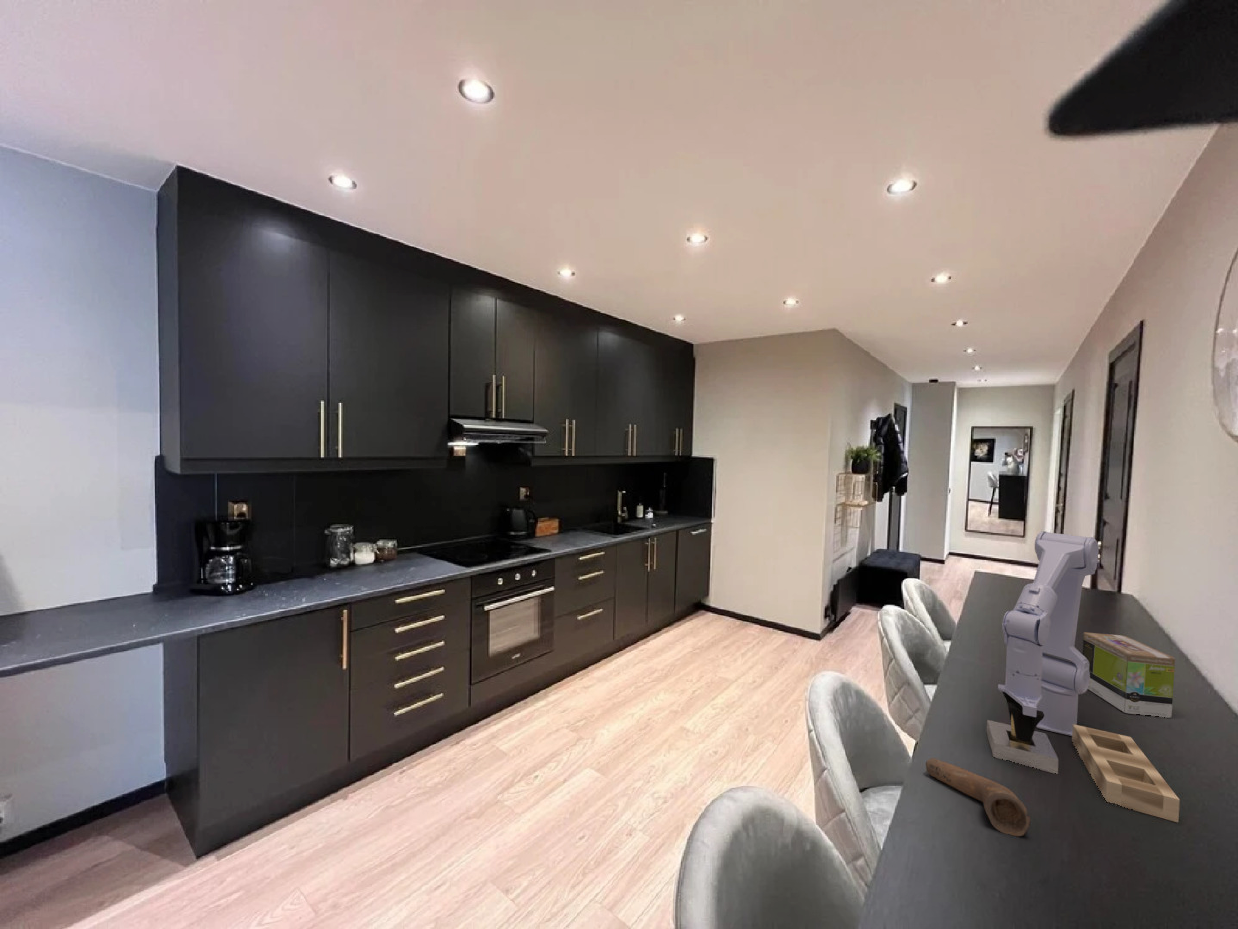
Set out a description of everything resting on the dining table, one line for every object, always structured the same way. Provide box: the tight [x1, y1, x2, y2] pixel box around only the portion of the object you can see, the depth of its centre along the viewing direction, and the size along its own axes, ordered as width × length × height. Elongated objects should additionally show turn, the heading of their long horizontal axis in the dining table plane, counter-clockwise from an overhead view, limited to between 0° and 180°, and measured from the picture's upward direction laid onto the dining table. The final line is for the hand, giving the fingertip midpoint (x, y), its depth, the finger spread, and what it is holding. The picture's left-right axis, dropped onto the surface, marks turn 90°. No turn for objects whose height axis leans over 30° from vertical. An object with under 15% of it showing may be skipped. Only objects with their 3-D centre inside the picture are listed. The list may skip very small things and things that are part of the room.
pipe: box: [925, 757, 1031, 837], centre depth 88 cm, size 6×17×10 cm
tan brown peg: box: [1010, 715, 1030, 745], centre depth 102 cm, size 3×3×9 cm
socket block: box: [986, 719, 1059, 775], centre depth 102 cm, size 10×10×3 cm
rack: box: [1071, 724, 1181, 823], centre depth 95 cm, size 21×9×4 cm, turn 150°
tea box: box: [1081, 631, 1176, 719], centre depth 124 cm, size 15×10×15 cm
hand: (1020, 734), depth 102 cm, fingers open, 4 cm apart
